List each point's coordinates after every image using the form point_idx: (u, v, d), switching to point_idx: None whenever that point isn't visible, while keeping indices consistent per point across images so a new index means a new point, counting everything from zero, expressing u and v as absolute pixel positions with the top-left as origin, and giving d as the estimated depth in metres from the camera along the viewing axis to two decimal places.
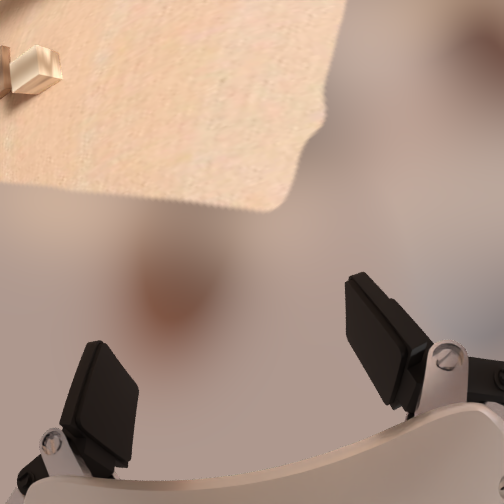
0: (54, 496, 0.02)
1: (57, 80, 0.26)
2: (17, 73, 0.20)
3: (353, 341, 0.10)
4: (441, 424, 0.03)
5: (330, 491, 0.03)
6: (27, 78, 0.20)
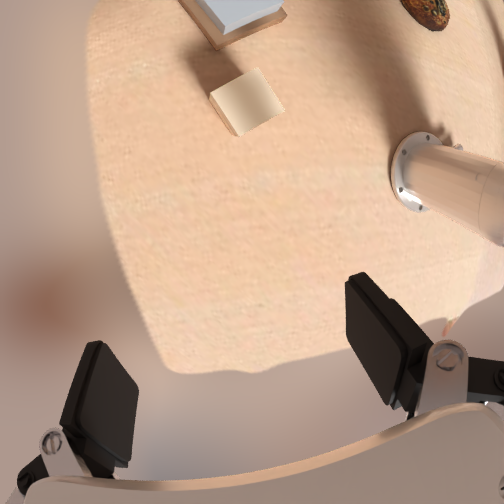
0: (54, 496, 0.02)
1: (230, 131, 0.29)
2: (241, 91, 0.22)
3: (353, 341, 0.10)
4: (441, 424, 0.03)
5: (330, 491, 0.03)
6: (232, 115, 0.23)
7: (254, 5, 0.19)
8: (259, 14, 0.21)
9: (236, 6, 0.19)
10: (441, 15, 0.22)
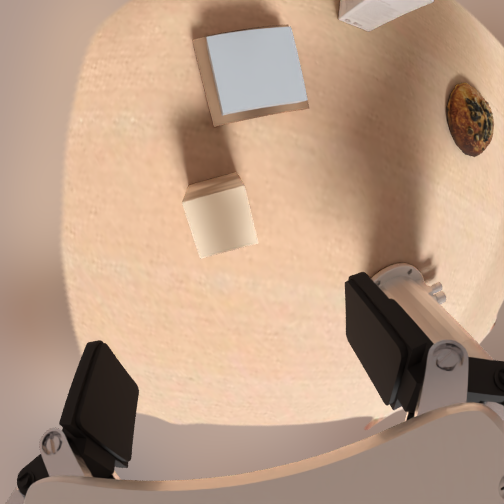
0: (54, 496, 0.02)
1: None
2: (216, 210, 0.22)
3: (353, 341, 0.10)
4: (441, 424, 0.03)
5: (330, 491, 0.03)
6: (199, 235, 0.22)
7: (269, 95, 0.20)
8: (272, 105, 0.21)
9: (247, 89, 0.19)
10: (482, 140, 0.26)
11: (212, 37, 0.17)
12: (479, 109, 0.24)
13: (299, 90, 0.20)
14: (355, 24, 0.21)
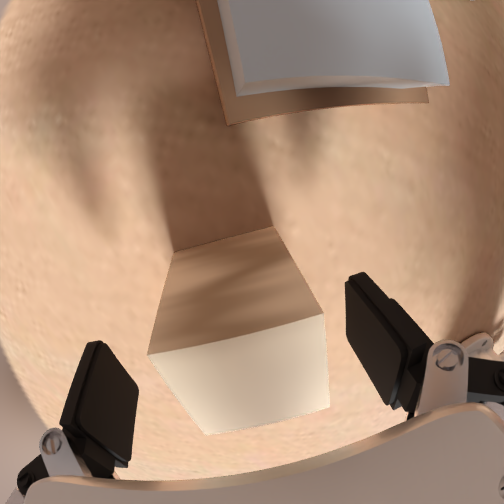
0: (54, 496, 0.02)
1: None
2: (241, 371, 0.08)
3: (353, 341, 0.10)
4: (441, 424, 0.03)
5: (330, 491, 0.03)
6: (199, 409, 0.08)
7: (376, 52, 0.06)
8: (367, 82, 0.07)
9: (319, 25, 0.05)
10: None
11: None
12: None
13: (435, 58, 0.06)
14: None
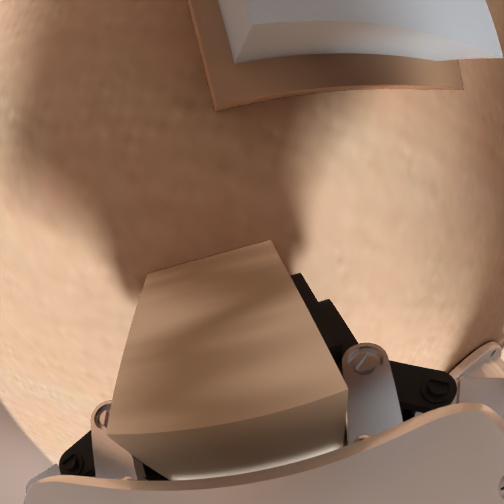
0: (54, 496, 0.02)
1: None
2: (232, 451, 0.05)
3: None
4: (441, 424, 0.03)
5: (329, 491, 0.03)
6: (183, 477, 0.06)
7: (427, 4, 0.03)
8: (410, 45, 0.05)
9: None
10: None
11: None
12: None
13: (486, 24, 0.03)
14: None
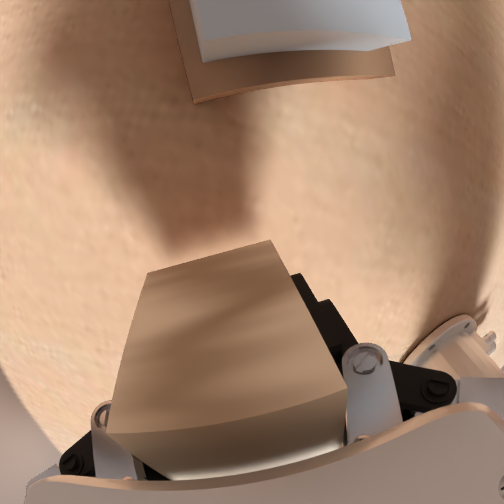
0: (54, 496, 0.02)
1: None
2: (231, 450, 0.05)
3: None
4: (441, 424, 0.03)
5: (329, 490, 0.03)
6: (182, 476, 0.06)
7: (332, 9, 0.06)
8: (328, 40, 0.07)
9: None
10: None
11: None
12: None
13: (394, 15, 0.06)
14: None
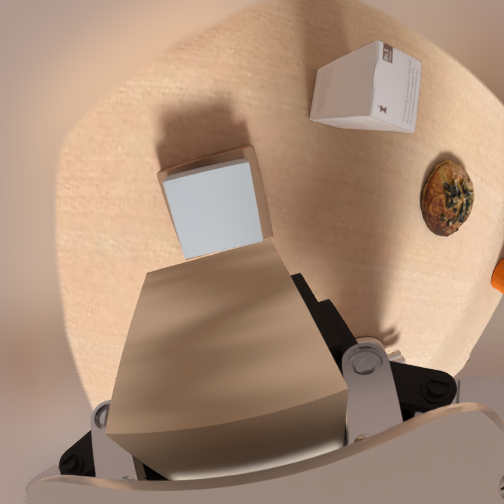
0: (54, 496, 0.02)
1: None
2: (231, 450, 0.05)
3: None
4: (441, 424, 0.03)
5: (329, 491, 0.03)
6: (182, 477, 0.06)
7: (226, 241, 0.24)
8: None
9: (205, 236, 0.24)
10: (456, 223, 0.31)
11: (168, 182, 0.21)
12: (457, 193, 0.28)
13: (255, 233, 0.24)
14: (327, 124, 0.25)
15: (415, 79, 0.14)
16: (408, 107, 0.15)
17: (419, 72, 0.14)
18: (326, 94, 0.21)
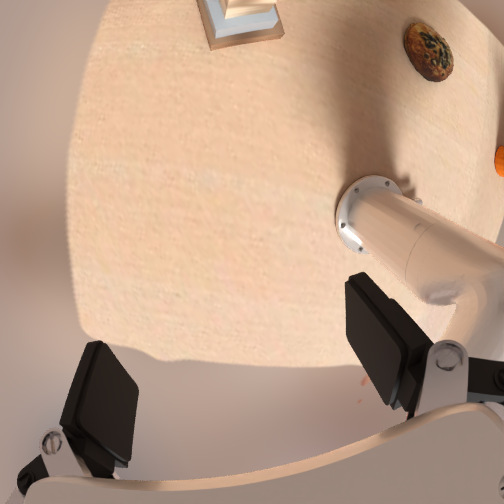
0: (54, 496, 0.02)
1: (224, 12, 0.21)
2: None
3: (353, 341, 0.10)
4: (441, 424, 0.03)
5: (329, 491, 0.03)
6: None
7: (249, 18, 0.22)
8: (252, 27, 0.24)
9: None
10: (441, 66, 0.28)
11: None
12: (434, 40, 0.26)
13: (271, 14, 0.22)
14: None
15: None
16: None
17: None
18: None
